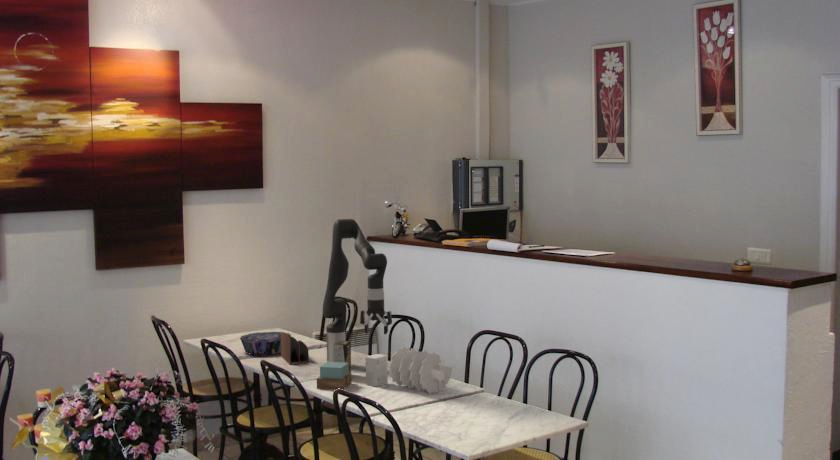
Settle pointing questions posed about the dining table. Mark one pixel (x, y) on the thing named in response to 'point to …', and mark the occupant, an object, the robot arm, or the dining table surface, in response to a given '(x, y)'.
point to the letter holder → (293, 350)
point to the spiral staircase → (419, 370)
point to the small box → (376, 370)
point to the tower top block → (334, 370)
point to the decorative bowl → (262, 343)
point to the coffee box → (342, 352)
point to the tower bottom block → (333, 382)
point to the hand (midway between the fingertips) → (376, 333)
